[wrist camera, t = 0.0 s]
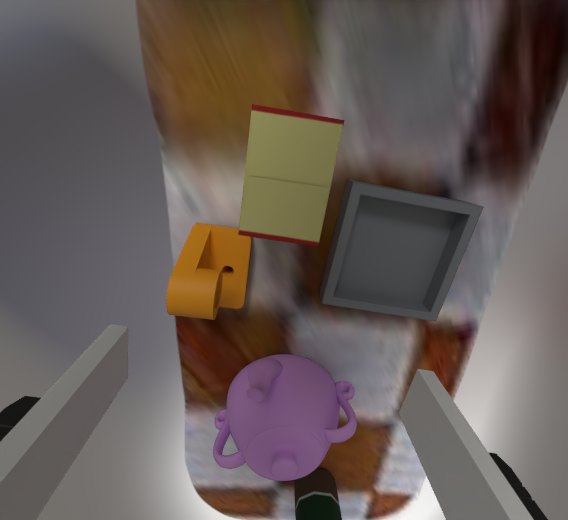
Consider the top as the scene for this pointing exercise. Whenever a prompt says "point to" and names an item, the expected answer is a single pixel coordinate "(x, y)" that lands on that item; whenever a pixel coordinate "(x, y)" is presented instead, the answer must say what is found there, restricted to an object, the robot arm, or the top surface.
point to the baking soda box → (288, 174)
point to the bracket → (209, 272)
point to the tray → (395, 250)
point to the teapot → (283, 417)
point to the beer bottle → (317, 497)
